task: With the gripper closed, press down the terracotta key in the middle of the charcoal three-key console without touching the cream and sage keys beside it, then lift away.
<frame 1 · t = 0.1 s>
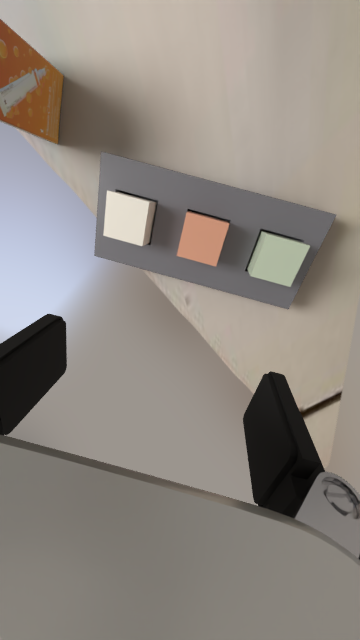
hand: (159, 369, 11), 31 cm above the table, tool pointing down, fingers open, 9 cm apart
terracotta key: (202, 238, 33), point 5 cm above the table, slide at 0.0 cm
sage key: (274, 257, 32), point 5 cm above the table, slide at 0.0 cm
key console: (204, 234, 37), on the table
small box: (41, 103, 33), on the table
cream key: (131, 218, 33), point 5 cm above the table, slide at 0.0 cm
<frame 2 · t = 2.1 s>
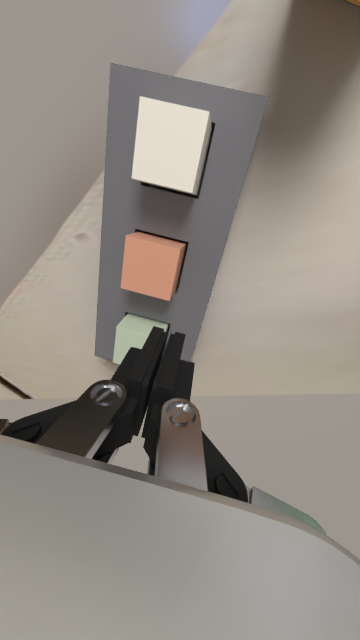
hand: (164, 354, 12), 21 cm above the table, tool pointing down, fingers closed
terracotta key: (154, 264, 26), point 5 cm above the table, slide at 0.0 cm
sage key: (142, 341, 31), point 5 cm above the table, slide at 0.0 cm
key console: (164, 256, 31), on the table
cream key: (173, 153, 21), point 5 cm above the table, slide at 0.0 cm
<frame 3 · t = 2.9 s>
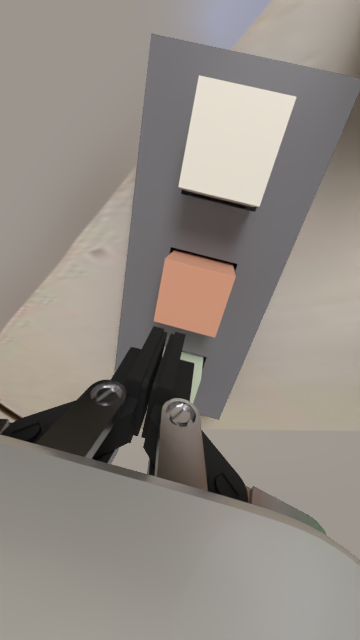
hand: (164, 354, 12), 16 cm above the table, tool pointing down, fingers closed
terracotta key: (194, 290, 21), point 5 cm above the table, slide at 0.0 cm
sage key: (172, 377, 26), point 5 cm above the table, slide at 0.0 cm
key console: (199, 276, 26), on the table
cream key: (230, 154, 16), point 5 cm above the table, slide at 0.0 cm
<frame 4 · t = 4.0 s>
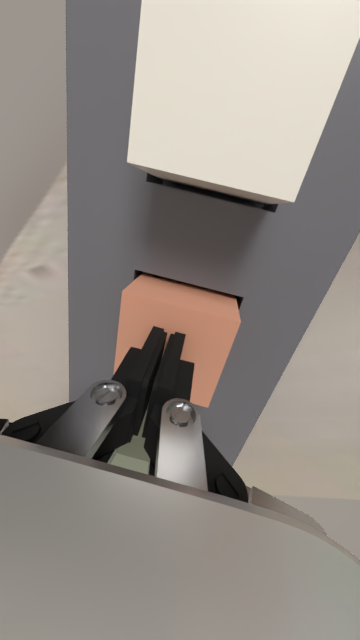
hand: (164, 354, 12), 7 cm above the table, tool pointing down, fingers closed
terracotta key: (176, 331, 14), point 4 cm above the table, slide at 0.9 cm, touching gripper
sage key: (147, 450, 18), point 5 cm above the table, slide at 0.0 cm
key console: (185, 306, 18), on the table
cream key: (232, 102, 8), point 5 cm above the table, slide at 0.0 cm
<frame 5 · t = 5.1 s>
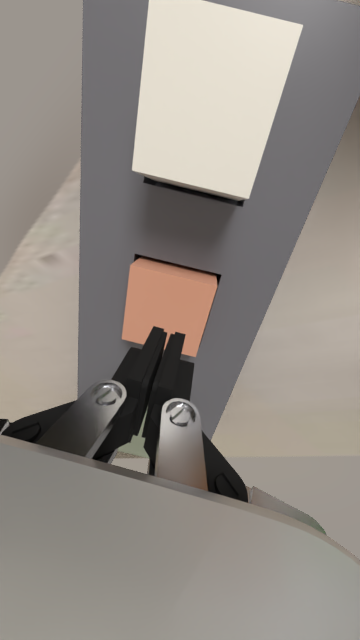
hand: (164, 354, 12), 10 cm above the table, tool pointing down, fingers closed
terracotta key: (170, 301, 18), point 3 cm above the table, slide at 1.6 cm
sage key: (146, 410, 21), point 5 cm above the table, slide at 0.0 cm
key console: (176, 287, 21), on the table
cream key: (206, 126, 12), point 5 cm above the table, slide at 0.0 cm
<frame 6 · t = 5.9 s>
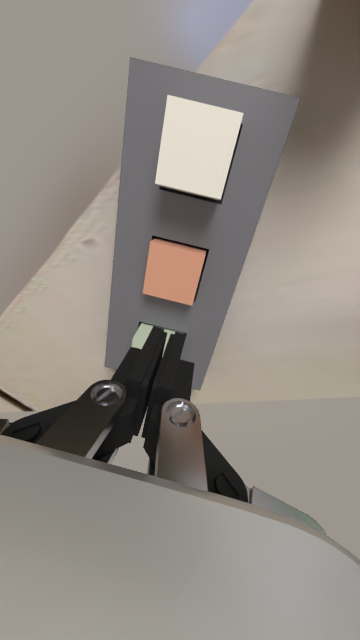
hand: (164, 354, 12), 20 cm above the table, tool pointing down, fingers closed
terracotta key: (175, 269, 26), point 3 cm above the table, slide at 1.6 cm
sage key: (157, 351, 30), point 5 cm above the table, slide at 0.0 cm
key console: (179, 262, 29), on the table
cream key: (197, 156, 20), point 5 cm above the table, slide at 0.0 cm
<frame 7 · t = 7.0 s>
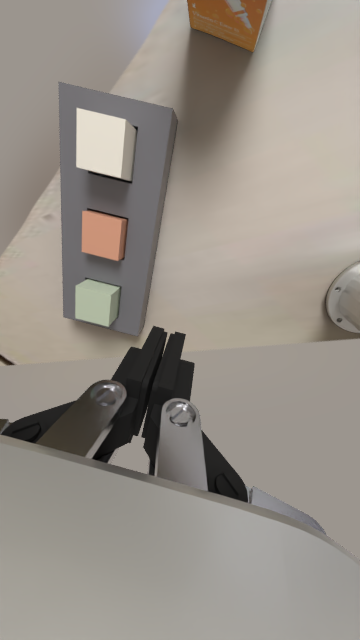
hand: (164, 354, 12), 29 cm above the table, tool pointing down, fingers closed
terracotta key: (108, 234, 35), point 3 cm above the table, slide at 1.6 cm
sage key: (99, 301, 38), point 5 cm above the table, slide at 0.0 cm
key console: (116, 232, 38), on the table
small box: (233, 4, 26), on the table
cream key: (108, 149, 29), point 5 cm above the table, slide at 0.0 cm
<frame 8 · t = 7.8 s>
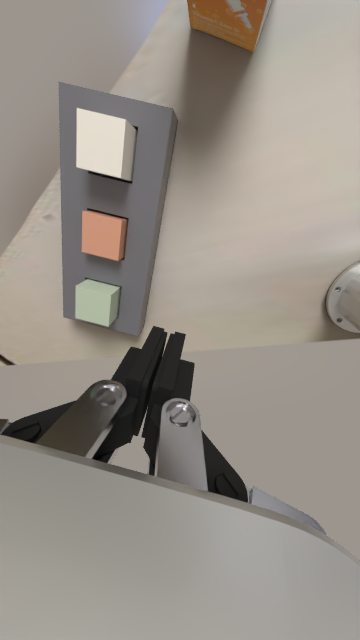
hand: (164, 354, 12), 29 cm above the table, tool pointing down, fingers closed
terracotta key: (108, 234, 35), point 3 cm above the table, slide at 1.6 cm
sage key: (99, 301, 38), point 5 cm above the table, slide at 0.0 cm
key console: (116, 232, 38), on the table
small box: (233, 4, 26), on the table
cream key: (108, 149, 29), point 5 cm above the table, slide at 0.0 cm
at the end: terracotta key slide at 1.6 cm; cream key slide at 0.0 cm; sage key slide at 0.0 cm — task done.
